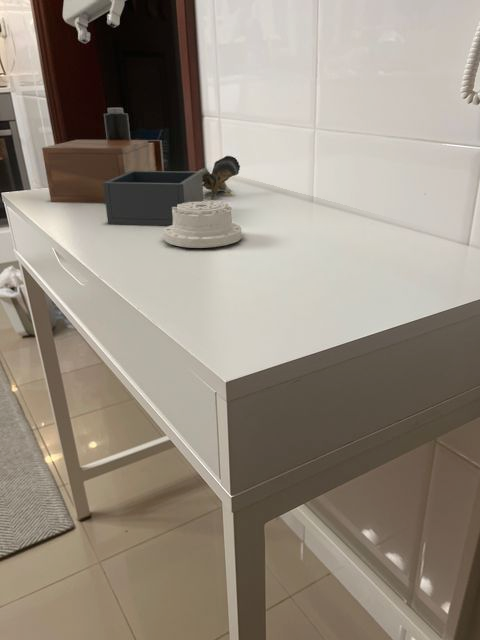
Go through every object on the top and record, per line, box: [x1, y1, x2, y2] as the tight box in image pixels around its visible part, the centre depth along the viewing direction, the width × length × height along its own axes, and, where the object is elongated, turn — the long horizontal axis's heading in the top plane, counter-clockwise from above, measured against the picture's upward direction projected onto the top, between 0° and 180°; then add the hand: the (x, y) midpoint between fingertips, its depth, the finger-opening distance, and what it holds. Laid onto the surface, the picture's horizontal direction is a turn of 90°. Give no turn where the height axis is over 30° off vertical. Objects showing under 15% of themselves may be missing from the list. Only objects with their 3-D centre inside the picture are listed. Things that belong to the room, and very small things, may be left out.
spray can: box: [103, 107, 131, 140], centre depth 107 cm, size 4×4×12 cm
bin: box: [103, 170, 204, 227], centre depth 84 cm, size 12×12×6 cm
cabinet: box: [41, 139, 151, 204], centre depth 99 cm, size 14×14×9 cm
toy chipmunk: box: [197, 155, 241, 200], centre depth 99 cm, size 8×7×9 cm
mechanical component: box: [163, 200, 242, 249], centre depth 72 cm, size 10×4×10 cm
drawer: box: [147, 139, 165, 171], centre depth 111 cm, size 17×13×7 cm
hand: (98, 33), depth 107 cm, fingers open, 8 cm apart
